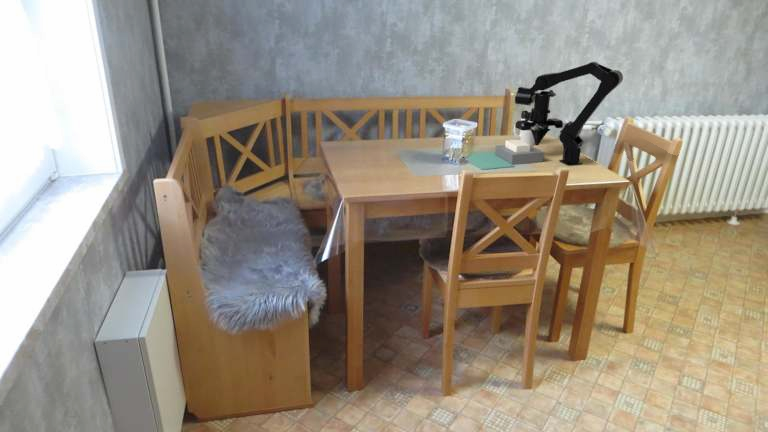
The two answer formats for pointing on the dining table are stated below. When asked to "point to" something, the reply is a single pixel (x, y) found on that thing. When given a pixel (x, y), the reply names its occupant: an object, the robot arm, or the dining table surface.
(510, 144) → the tile
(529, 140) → the mug
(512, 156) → the grey square slab
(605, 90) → the robot arm
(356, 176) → the dining table surface
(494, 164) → the mat
